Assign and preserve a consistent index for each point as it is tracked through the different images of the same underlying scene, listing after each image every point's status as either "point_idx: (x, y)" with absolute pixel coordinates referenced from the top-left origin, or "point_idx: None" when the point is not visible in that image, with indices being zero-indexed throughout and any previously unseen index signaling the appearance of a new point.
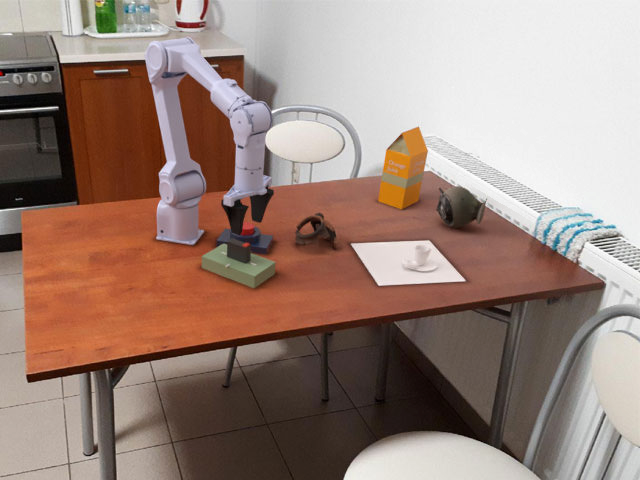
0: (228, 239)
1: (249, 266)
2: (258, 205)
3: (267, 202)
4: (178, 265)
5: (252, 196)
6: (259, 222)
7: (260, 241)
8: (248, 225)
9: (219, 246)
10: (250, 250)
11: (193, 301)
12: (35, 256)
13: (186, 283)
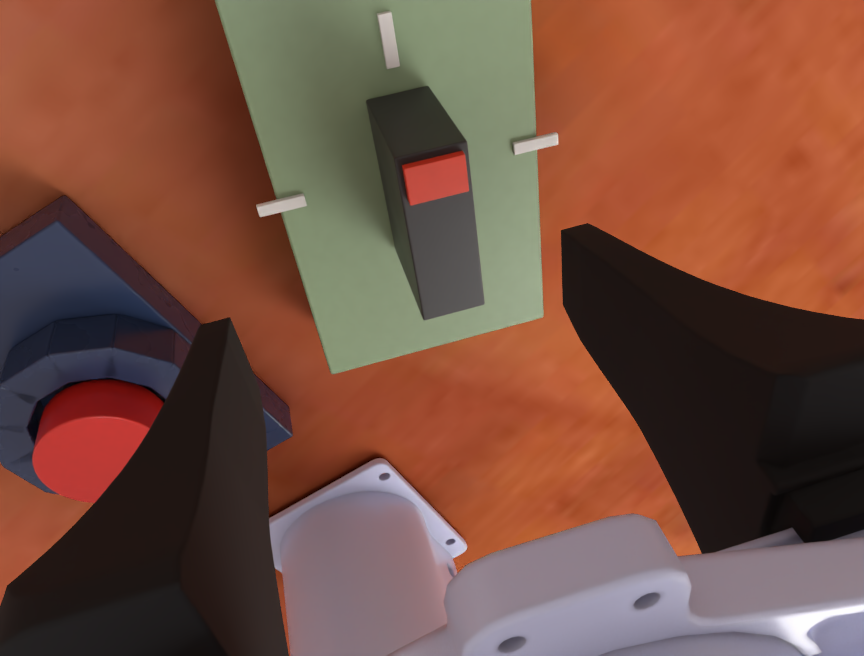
0: None
1: (435, 34)
2: (238, 490)
3: (146, 482)
4: (569, 346)
5: (275, 626)
6: (231, 325)
7: (38, 316)
8: (81, 457)
9: (382, 356)
10: (392, 134)
11: (824, 20)
12: None
13: (686, 193)
